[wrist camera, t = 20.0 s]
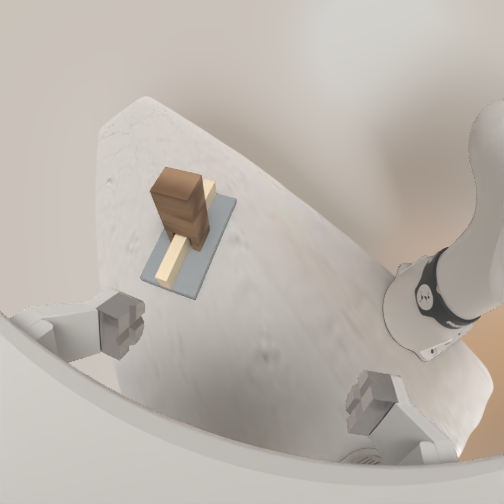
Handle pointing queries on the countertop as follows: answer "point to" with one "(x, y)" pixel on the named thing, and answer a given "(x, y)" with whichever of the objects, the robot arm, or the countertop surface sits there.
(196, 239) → the walnut block
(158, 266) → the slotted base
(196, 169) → the countertop surface
